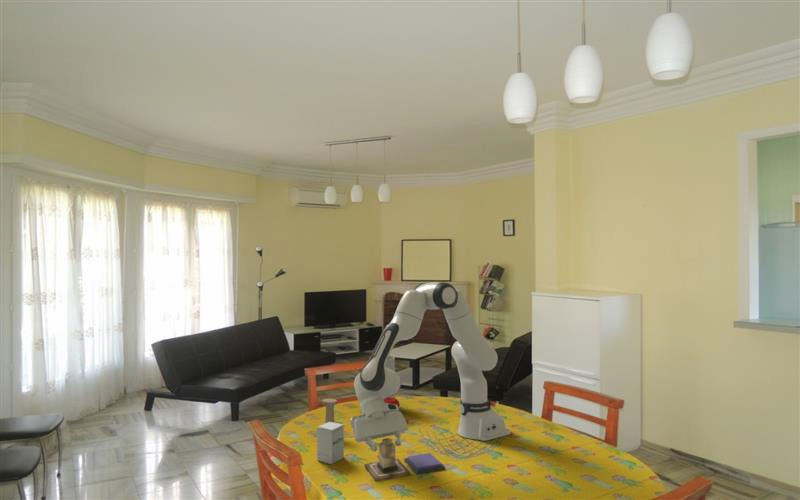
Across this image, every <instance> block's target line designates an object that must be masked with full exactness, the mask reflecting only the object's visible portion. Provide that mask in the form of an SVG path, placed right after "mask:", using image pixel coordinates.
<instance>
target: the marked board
mask: <svg viewBox="0 0 800 500" xmlns="http://www.w3.org/2000/svg"><path fill="white" fill-rule="evenodd" d="M395 461H396V465H397V466H398V470H396V471H391V472H385V473H383V472H382V471H381V470H380V469H379V468H378V467H377V463H379V461H376V462H370V463H364V468H365V469H366V471H367V472H368V473H369V475H370V476H371V478H372V479H373V481H374V482H380V481H386V480H391V479H397V478H403V477H408V476H412V473H411V472H412V471H410V470H409V469H408V468H407V466H405V465H404V463H403V462H402V461H401V460H400V459H399V458H395Z"/></svg>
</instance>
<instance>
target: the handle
mask: <svg viewBox="0 0 800 500" xmlns="http://www.w3.org/2000/svg"><path fill="white" fill-rule="evenodd" d="M321 403H322V405H324V407H325V418H324V424H325V423H328V422H333V423H336V422H335V409H334V408H335V406H336V405H337V404H338V400H337V399H335V398H324V399H322V400H321Z"/></svg>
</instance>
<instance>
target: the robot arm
mask: <svg viewBox="0 0 800 500" xmlns="http://www.w3.org/2000/svg"><path fill="white" fill-rule="evenodd" d="M427 310H431V311H432V310H442V311H443V314H444V315H443V316H444V317H445V320H446V322H447V324H448V329H449V330H450V332H451V335H452V337H453V338H454V339H455V340H456V341H454V343H453V345H452V346H451V350H450V351H451V352H450V353H451V356H452V358H453V359H454V361H455V364H456V367H457V371H458V376H459V379H460V380H459V381H460V399H459V412H460V419H459V420H460V421H459V425H458V430H457V435H459V436H460V437H463V438H466V439H469V440H470V439H471V440H479V441H483V442H484V441H485V442H486V441H489V440H493V439H498V438H502V437H506V436H509V435H511V434H512V433H511V429H510V428H509V427H507V426H506V425H505V424H506V423H505V419H504V417H503V416H502V415H500V414H499V413H498V412H497V411H495V410H494V409H492V408H495V407H496V405H497V403H496V402H495V401H493V400H489V399H488V383H487V379H486V378H485V376H484V374H483V371H484V372H486V371H488V372H489V371H491V370H493V369H494V368H495V367H496V366H497V363H498V357H499V356H498V353H497V351H496V350H495V349H494V348H493V347H492V346H491V345H490V344H489V343H488V341H487V340H486V338H485V337H484V335H483V333H482V332H481V330H480V328H479V327H478V325H477V323H476V320H475V318H474V315H473V313H472V310H471V307H470V305H469V302H468V300H467V299H466V297H465V295H464V294H463V292H462V291H461V290H460V289H459V288H455V287H454V286H453V285H452V284H450V283H448V282H446V281H445V282H444V281H443V282H441V281H431V282H427V283H426V282H425V283H423V282H422V283H420V284H417V285H416V286H415V287H414V288H413V289H408V290H406V291H405V292H404V293H403V295H402V296H401V298H400V300H399V303H398V305H397V307H396V310H395V312H394V314H393V317H392V319H391V321H390V322H389V323H388V324H387V325H386V326H385V327H384V328H383V330H382V332H381V334H380V336H379V338H378V340H377V343H376V344H375V346H374V349H373V351H372V352H371V355H370V356H369V359H368V360H367V361H366V363H365V364H364V365H363V367H362V368H361V370H360V373H358V374H357V375H356V376H355V378H354V383H353V385H354V391H355V394H356V398H357V401H358V402H359V404H360V410H361V414H359V415H354V416H353V417H352V418H351V419H350V422H349V423H350V425H351V428H352V433H353V436H354V441H356V442H357V443H362V442H365V443H366V445H367V446H369V448H370V449H371V452H376V451H377V450H378V446H377V444H376V443H375V444H374V442H372V441H373V440H376V439H381V438H382V439H383V438H387V437H390V436H391V437H392V436H394V437H395V438H396V439H395V441H394V445H395V447H400V446H401V445H402V442H401V435H402V434H405V433H406V431H407V429H408V423H407V421H406V419H405V417H404V415H403V413H402V412H401V411H400V406H399V407H398V405H396V404H390V403H385V402H383V399H384V398H387V397H390V396H392V395H394V394H395V395H396V394H397V393H398V392H399V391H400V389H401V386H402V377H401V375H400V374H399V373H398V372H397V371H393V370H391V369H389V368H386V367H385V364H386V361H387V359H388V357H389V356H391V355H390V354H391V353H392V351H393V348H394V346H396V344H397V343H398V342H400V341H407V340H410V339H413V338H414V337H415V336H416V335H417V334H418V332H419V330H420V328H421V325H422V321H423V319H424V315H425V313H426V311H427ZM398 409H399V411H398Z"/></svg>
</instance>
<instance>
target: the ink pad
mask: <svg viewBox="0 0 800 500" xmlns="http://www.w3.org/2000/svg"><path fill="white" fill-rule="evenodd" d="M403 460H404V463H405V464H406V465H407V466H408V467H409V468H410V469H411V471H413V472H414V473H415V474H416V475H420V474H427V473H432V472H437V471H445V470H446V465H444V464H443V463H442V462H441V461H440V460H438V459H437V458H436V456H434V455H433V454H432V453H431V452H429V453H428V452H427V453H421V454H415V455H409V456H407V458H403Z"/></svg>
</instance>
